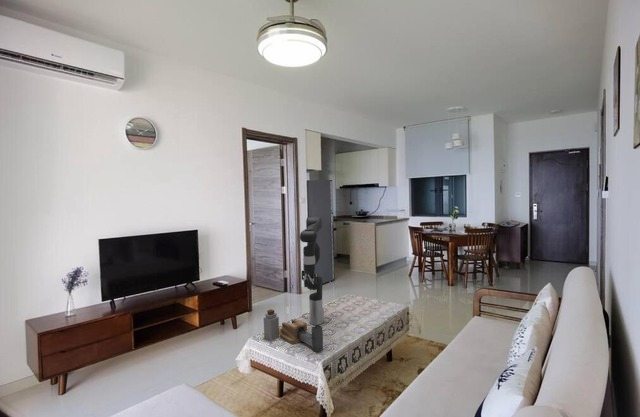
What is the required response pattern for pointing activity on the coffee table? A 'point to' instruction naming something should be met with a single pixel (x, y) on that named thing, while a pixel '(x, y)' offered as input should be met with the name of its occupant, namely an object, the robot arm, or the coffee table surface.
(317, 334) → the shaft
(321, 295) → the robot arm
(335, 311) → the coffee table surface
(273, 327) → the perfume bottle
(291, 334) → the guide block
